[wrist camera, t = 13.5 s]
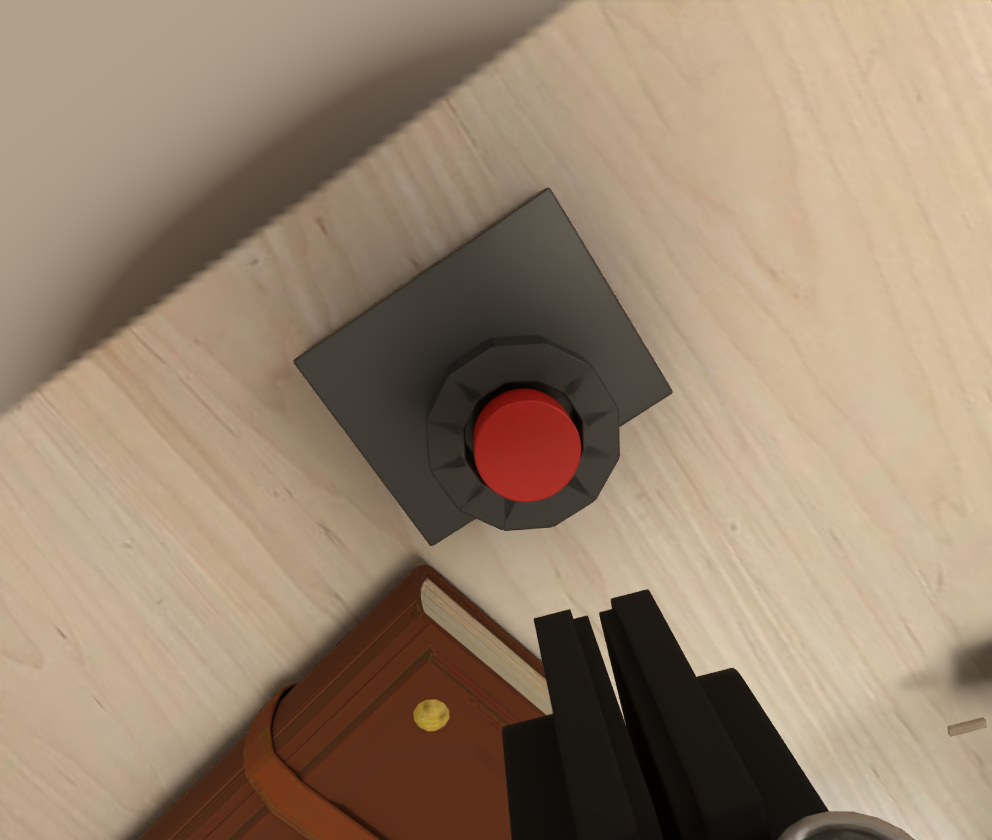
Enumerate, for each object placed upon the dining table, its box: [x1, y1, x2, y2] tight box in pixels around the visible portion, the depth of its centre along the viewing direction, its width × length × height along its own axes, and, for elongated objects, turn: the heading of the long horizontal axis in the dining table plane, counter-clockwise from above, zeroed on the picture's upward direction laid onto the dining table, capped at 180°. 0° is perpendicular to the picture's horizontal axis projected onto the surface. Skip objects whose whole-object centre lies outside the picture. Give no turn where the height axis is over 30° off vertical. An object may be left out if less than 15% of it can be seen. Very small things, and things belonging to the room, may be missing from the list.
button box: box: [293, 188, 673, 546], centre depth 24 cm, size 9×10×4 cm
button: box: [473, 388, 581, 502], centre depth 22 cm, size 3×3×2 cm
